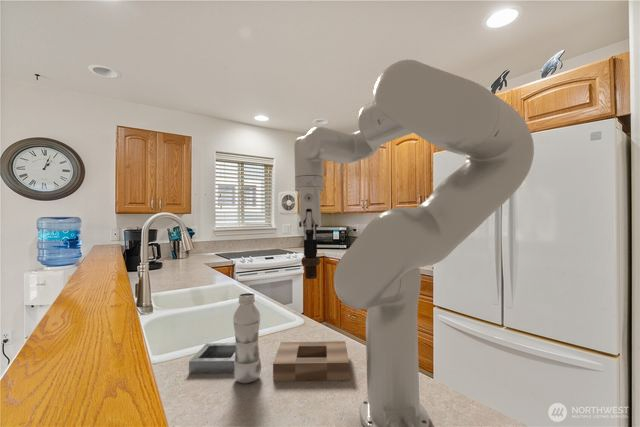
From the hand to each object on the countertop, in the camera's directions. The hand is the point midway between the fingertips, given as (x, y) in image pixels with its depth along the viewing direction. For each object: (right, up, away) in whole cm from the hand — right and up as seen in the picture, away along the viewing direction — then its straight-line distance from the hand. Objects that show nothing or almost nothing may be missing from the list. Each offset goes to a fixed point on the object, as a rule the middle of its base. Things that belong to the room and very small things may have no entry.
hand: (310, 254), depth 72 cm
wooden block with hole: (0, -29, -1) cm, 29 cm away
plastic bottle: (-15, -29, -6) cm, 33 cm away
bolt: (0, -6, 0) cm, 6 cm away
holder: (-25, -30, +2) cm, 38 cm away
